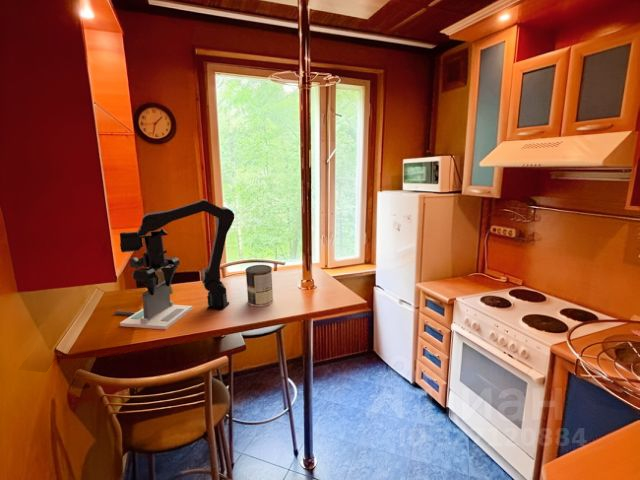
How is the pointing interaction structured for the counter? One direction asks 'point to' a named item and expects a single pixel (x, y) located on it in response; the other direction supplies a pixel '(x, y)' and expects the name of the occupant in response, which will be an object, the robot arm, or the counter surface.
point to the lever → (156, 300)
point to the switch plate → (156, 317)
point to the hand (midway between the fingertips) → (160, 290)
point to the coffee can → (259, 285)
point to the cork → (162, 279)
